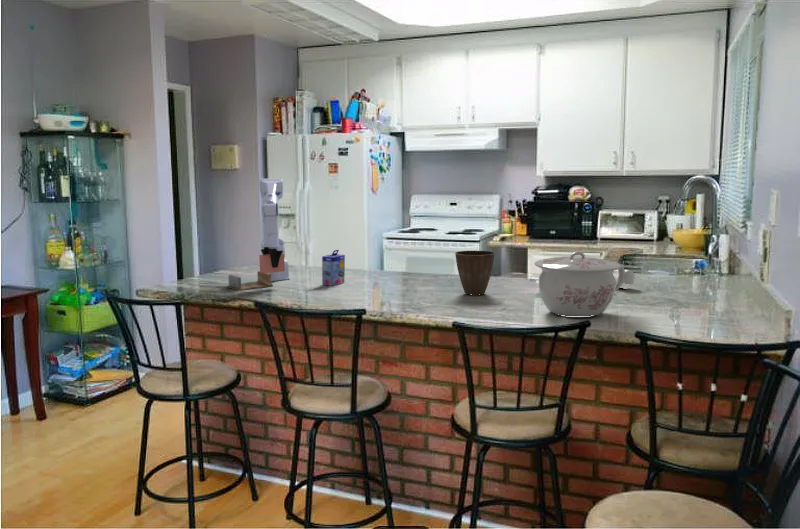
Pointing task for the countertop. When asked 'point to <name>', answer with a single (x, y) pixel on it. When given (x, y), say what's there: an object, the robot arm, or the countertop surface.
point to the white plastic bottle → (628, 276)
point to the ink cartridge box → (333, 269)
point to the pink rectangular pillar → (270, 264)
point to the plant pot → (474, 270)
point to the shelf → (263, 281)
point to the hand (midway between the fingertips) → (272, 266)
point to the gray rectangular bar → (235, 281)
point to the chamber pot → (578, 284)
